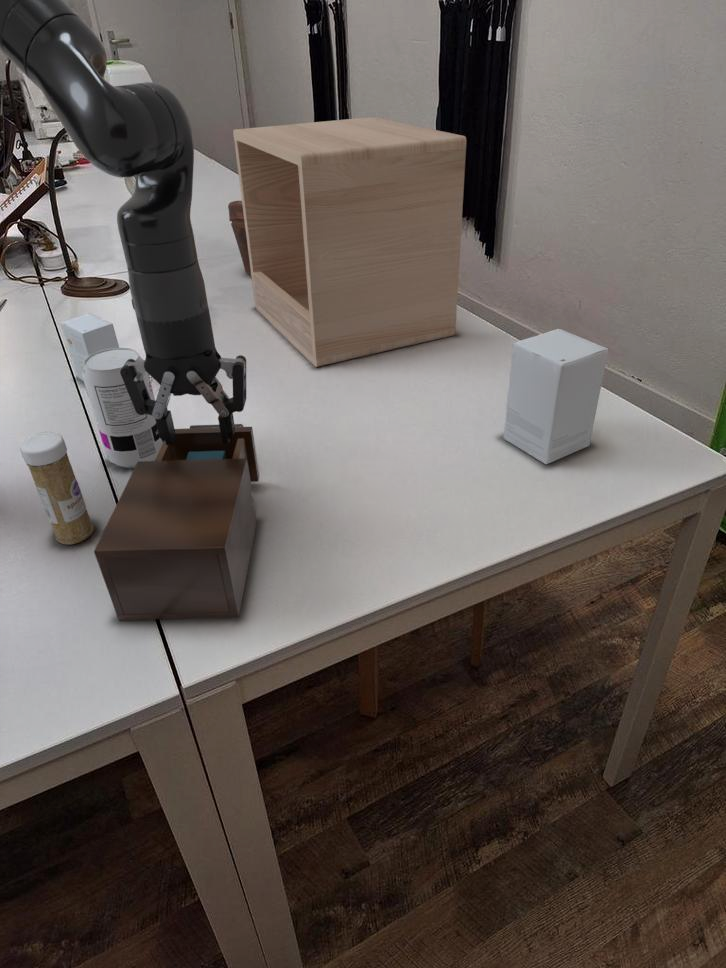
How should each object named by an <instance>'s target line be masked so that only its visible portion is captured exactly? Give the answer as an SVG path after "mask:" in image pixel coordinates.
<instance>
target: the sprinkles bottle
mask: <svg viewBox="0 0 726 968" xmlns="http://www.w3.org/2000/svg"><path fill="white" fill-rule="evenodd" d="M19 451H20V453H21V456H22V459H23V461H24V463H26V466H27V467H28V469H29V472H30V474H31V477H32V479H33V482H34V486H35V489H36V491H37V494H38V497H39V499H40V502H41V505H42V507H43V509H44V512H45V514H46V517H47V519H48V521H49V522H50V525H51V527H52V530H53V533H54V537H55V540H56V541H57V542H58V543H60V544H62V545H69V546H70V545H71V546H72V545H76V544H79V543H81V542H84V541H85V540H87V539H88V538H89V537H90V536H92V534H93V532H95V529H94V528H95V527H94V524H93V522H92V520H91V518H90V515H89V512H88V510H87V505H86V502H85V499H84V495H83V493H82V490H81V488H80V484H79V482H78V479H77V478H76V475H75V472H74V469H73V467H72V464H71V461H70V458H69V455H68V447H67V443H66V442H65V439H64V437H63V435H62V434H60V432H56V431H44V432H39V433H35V434H32V435H30V436H28V437H26V438H25V439H24V440H23V441H22V442H21V443H20V444H19Z"/></svg>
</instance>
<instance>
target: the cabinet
mask: <svg viewBox="0 0 726 968" xmlns="http://www.w3.org/2000/svg"><path fill="white" fill-rule="evenodd" d="M131 472H132V473H131V475H130V476H129V479H128V481H127V483H126V485H125V486H124V488H123V491H122V493H121V495H120V497H119V499H118V501H117V503H116V505H115V506H114V510H113V511H112V513H111V515H110V518H109V519H108V522H107V523H106V525H105V527H104V530H103V532H102V534H101V536H100V538H99V540H98V542H97V545H96V546H95V548H94V550H93V553H94V555H95V558H96V561H97V563H98V566H99V569H100V573H101V575H102V578H103V581H104V583H105V586H106V589H107V592H108V594H109V597H110V600H111V603H112V606H113V609H114V611H115V614H116V617H117V620H118V621H142V620H144V621H145V620H178V619H179V620H181V619H213V618H215V619H216V618H218V619H219V618H239V617H240V611H241V606H242V601H243V596H244V591H245V586H246V580H247V575H248V570H249V566H250V561H251V555H252V549H253V545H254V539H255V534H256V530H257V529H256V528H257V524H258V521H257V515H256V510H255V509H256V508H255V502H254V496H253V490H252V482H251V483H250V477H249V471H248V465H247V459H246V458H244V459H210V460H176V461H143V462H137V464H136V466H135V467H133V471H131Z"/></svg>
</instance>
